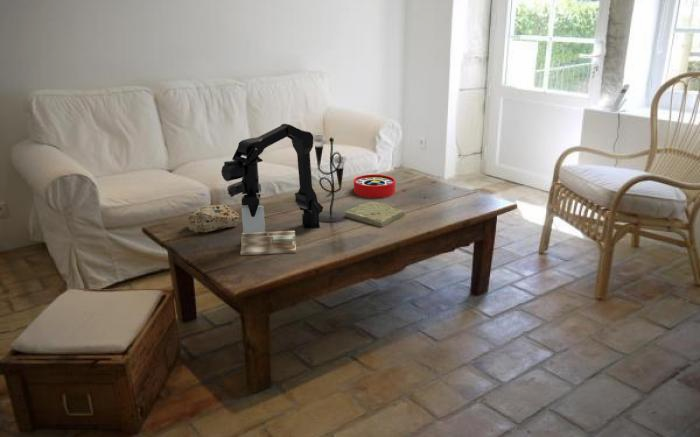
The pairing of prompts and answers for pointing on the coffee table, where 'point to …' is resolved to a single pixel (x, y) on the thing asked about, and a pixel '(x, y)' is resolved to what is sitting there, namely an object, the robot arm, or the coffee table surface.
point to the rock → (212, 218)
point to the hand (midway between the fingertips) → (253, 215)
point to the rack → (263, 243)
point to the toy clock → (374, 186)
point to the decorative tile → (374, 213)
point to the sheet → (253, 220)
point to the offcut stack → (282, 242)
